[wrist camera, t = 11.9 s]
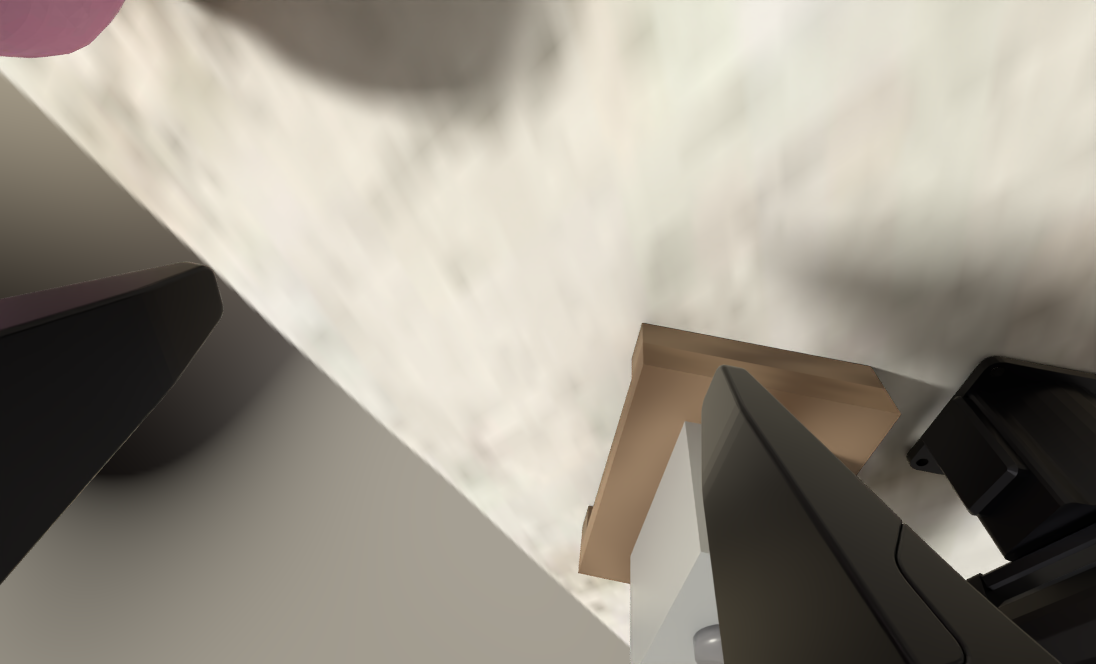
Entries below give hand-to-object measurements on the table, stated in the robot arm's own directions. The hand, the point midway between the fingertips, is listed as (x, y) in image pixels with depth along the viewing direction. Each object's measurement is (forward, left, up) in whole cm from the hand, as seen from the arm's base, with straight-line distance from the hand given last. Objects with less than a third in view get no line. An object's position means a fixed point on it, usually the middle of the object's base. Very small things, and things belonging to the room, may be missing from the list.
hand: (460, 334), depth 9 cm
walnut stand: (-10, +14, -12) cm, 21 cm away
